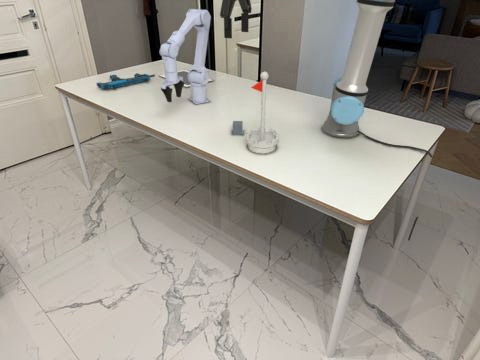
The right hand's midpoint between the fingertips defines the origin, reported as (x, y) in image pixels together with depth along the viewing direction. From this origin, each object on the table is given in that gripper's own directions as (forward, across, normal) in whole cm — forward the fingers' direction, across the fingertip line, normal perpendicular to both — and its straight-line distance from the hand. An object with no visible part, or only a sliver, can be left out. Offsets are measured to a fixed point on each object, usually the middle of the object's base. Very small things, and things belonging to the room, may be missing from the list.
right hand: (236, 35), depth 126 cm
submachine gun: (+40, -34, -96) cm, 109 cm away
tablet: (+40, -57, -66) cm, 96 cm away
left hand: (+33, -7, -38) cm, 51 cm away
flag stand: (+40, +8, +15) cm, 43 cm away
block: (+40, 0, 0) cm, 40 cm away
